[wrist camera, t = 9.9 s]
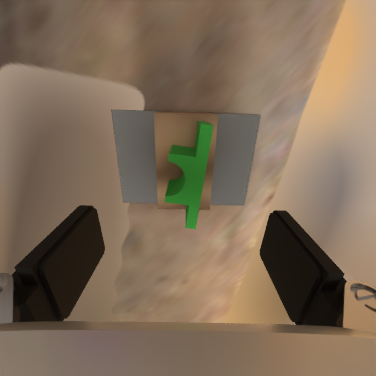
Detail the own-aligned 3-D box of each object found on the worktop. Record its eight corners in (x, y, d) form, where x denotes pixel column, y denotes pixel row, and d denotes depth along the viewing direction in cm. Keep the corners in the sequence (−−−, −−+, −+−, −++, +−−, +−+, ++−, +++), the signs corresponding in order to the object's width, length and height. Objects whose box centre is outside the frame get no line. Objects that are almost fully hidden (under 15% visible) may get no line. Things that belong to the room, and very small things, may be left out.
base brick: (160, 111, 24) (153, 112, 19) (212, 113, 24) (218, 114, 20) (162, 192, 29) (157, 208, 24) (205, 193, 29) (209, 209, 24)
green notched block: (174, 117, 20) (171, 119, 16) (208, 121, 20) (213, 125, 16) (166, 206, 24) (162, 226, 20) (194, 209, 24) (195, 229, 20)
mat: (112, 109, 24) (111, 109, 24) (259, 114, 25) (260, 114, 24) (123, 201, 30) (123, 202, 30) (243, 204, 30) (244, 205, 30)
